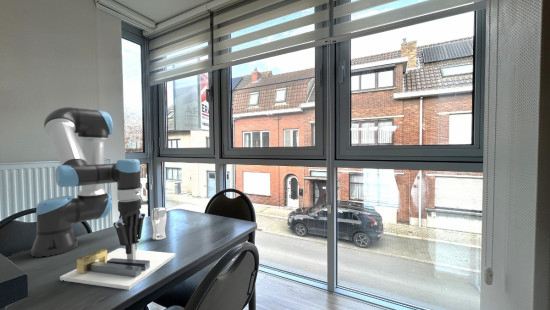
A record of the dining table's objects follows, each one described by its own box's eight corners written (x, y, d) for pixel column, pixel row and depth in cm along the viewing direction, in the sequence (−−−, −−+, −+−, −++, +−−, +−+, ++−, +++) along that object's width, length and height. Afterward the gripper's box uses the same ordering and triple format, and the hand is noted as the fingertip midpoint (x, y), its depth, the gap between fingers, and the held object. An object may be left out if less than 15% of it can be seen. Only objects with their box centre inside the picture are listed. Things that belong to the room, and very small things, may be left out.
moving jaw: (106, 267, 86) (106, 261, 86) (112, 264, 88) (112, 258, 88) (145, 270, 84) (145, 263, 84) (149, 266, 86) (149, 260, 86)
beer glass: (163, 234, 123) (162, 206, 123) (169, 237, 119) (169, 208, 119) (149, 238, 118) (149, 209, 118) (155, 241, 113) (155, 211, 113)
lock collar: (77, 272, 82) (76, 259, 82) (101, 260, 91) (100, 248, 91) (83, 273, 81) (83, 260, 81) (107, 261, 90) (107, 249, 90)
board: (60, 280, 80) (59, 276, 79) (119, 250, 103) (119, 248, 103) (129, 289, 74) (129, 286, 74) (175, 256, 98) (175, 253, 98)
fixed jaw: (78, 270, 84) (78, 263, 84) (85, 266, 86) (85, 260, 86) (135, 277, 79) (135, 270, 79) (141, 273, 82) (141, 266, 82)
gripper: (124, 204, 80) (126, 270, 81) (150, 196, 93) (152, 253, 94) (105, 203, 82) (108, 268, 82) (134, 195, 94) (136, 252, 95)
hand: (131, 260), depth 88 cm, fingers closed
